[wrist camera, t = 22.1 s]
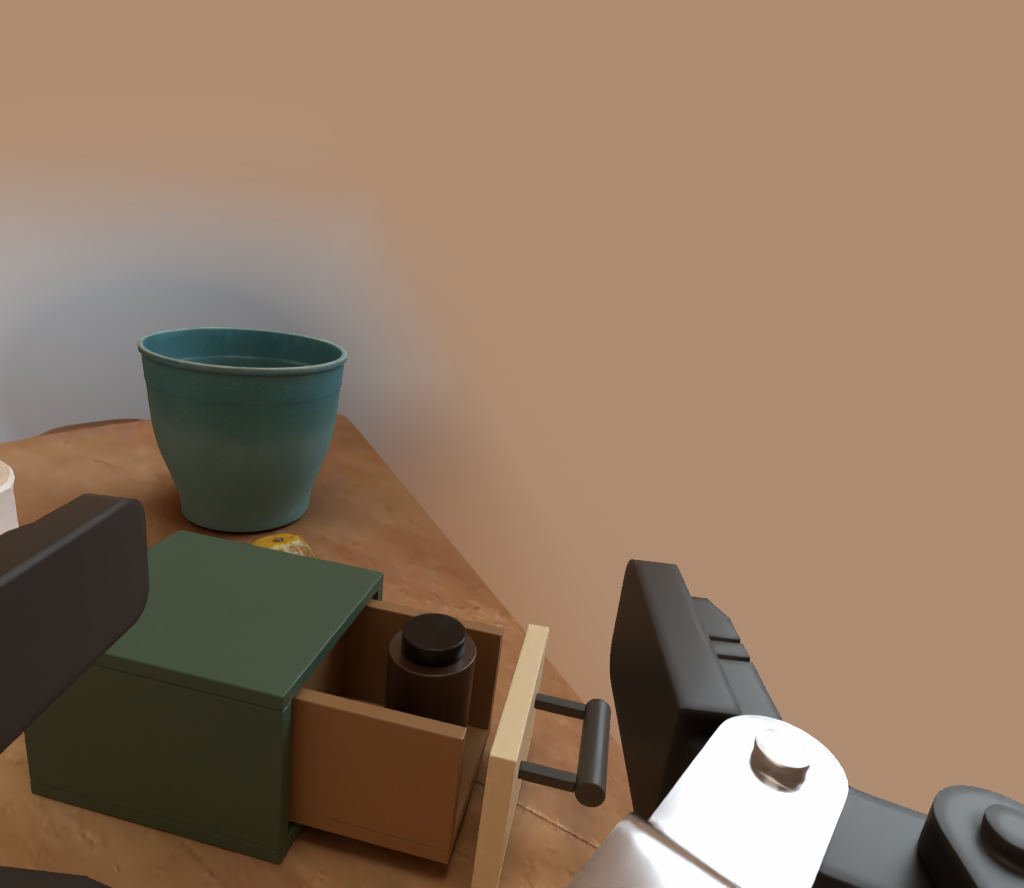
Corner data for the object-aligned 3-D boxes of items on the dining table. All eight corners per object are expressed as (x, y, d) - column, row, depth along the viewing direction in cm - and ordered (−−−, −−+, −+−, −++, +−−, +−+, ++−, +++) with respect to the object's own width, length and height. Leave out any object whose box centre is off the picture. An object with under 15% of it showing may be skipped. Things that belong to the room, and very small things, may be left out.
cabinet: (374, 704, 42) (384, 572, 39) (279, 865, 31) (283, 697, 28) (184, 658, 43) (179, 529, 41) (31, 793, 33) (9, 629, 30)
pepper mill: (470, 746, 36) (487, 616, 34) (449, 809, 32) (466, 666, 30) (396, 728, 37) (407, 599, 35) (366, 788, 33) (376, 646, 30)
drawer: (598, 753, 39) (621, 642, 36) (584, 923, 29) (614, 786, 26) (339, 691, 41) (344, 582, 39) (244, 827, 31) (244, 694, 29)
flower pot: (358, 540, 62) (368, 368, 57) (144, 562, 54) (133, 363, 49) (320, 473, 77) (326, 332, 72) (148, 482, 69) (140, 323, 64)
